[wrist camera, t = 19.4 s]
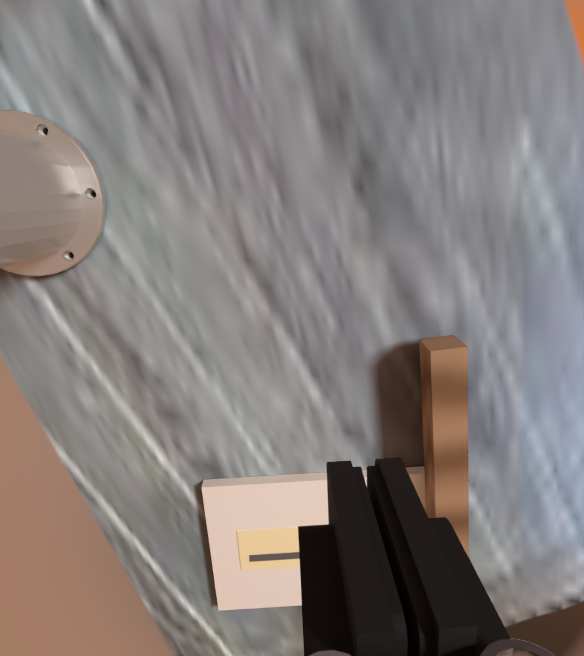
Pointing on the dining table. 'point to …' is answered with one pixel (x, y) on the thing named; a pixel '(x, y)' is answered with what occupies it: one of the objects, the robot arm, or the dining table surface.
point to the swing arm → (446, 430)
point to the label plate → (266, 534)
